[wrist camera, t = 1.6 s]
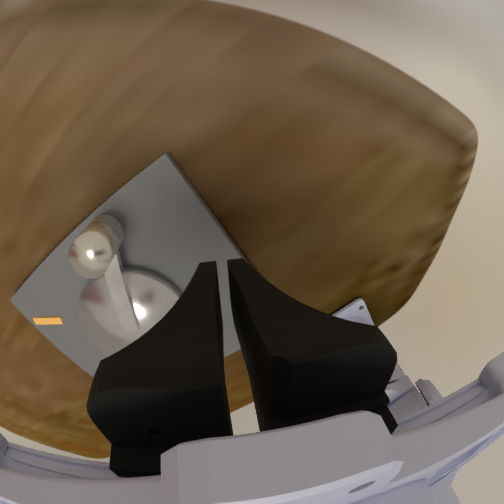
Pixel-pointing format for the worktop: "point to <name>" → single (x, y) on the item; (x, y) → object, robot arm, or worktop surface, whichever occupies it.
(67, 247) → the dial plate
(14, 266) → the worktop surface
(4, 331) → the worktop surface
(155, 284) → the dial
